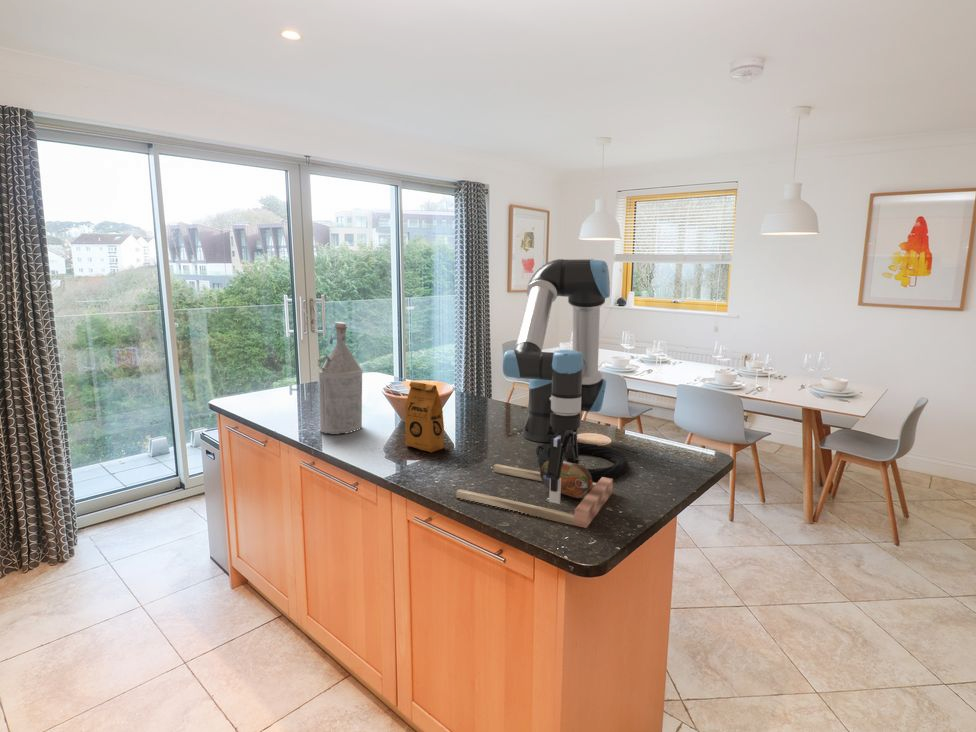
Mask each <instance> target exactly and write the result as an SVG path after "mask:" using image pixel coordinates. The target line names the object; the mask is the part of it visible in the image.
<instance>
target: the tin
mask: <svg viewBox="0 0 976 732" xmlns="http://www.w3.org/2000/svg"><path fill="white" fill-rule="evenodd" d="M548 462H549V461H546V462H545V463H544V464H543V465H542V467H541V466H540V471H539V472H540V475H541V479H542V481H541V482H542V483H543V485H544V486H545V488H547V489H550V478H547V477H546V474H547V469H548ZM587 469H588V468H586V467H585V466H583V465H580V464H575V463H574V464H573V463H570V462H566V460H563V465H562V469H561V474H560V478H561V494H563V495H566V496H569V497H572V498H575V499H581V498H585V497H586V495H587V494H588V493H589V492H590V491H591V489H592V484H593V482H594V481H592V476H591V474H590V473H589V471H588V470H587ZM553 474H554V473H553Z"/></svg>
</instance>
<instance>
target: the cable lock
mask: <svg viewBox="0 0 976 732" xmlns="http://www.w3.org/2000/svg"><path fill="white" fill-rule="evenodd" d="M550 448H551V444H546V443H543V444H542V443H538V444H537V446H536V449H535V451H536V452H535V453H536V455H537V463H538V464H539V466H540V468H541V467H542V465H543V464H544V463H545V462H546V461H549V455H550ZM578 453H580V454H579V455H581V454H583V455H590V454H593V455H592V456H595V455H596V457H601V456H602V458H603V457H604V458H603V459H606V460H608V461H611V462H612V463H614V465H610V466H608V467H598V468H586V469H587V470H588V471H589V473H590V474H591V476H592V482H595V481H597V482H598V481H599V480H600V479H601V478H602V477H606V478H611V479H615V478H619V477H620V476H622V475H623V474H625V473H626V472H627V470H628V469H629V468H628V467H629V462H628V461H629V460H628V459H627V458H626V456H625V455H624V454H622V453H620V452H619V451H618V450H615V449H613V448H610V447H608V446H603V445H599V444H593V443H584V442H578Z"/></svg>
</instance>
